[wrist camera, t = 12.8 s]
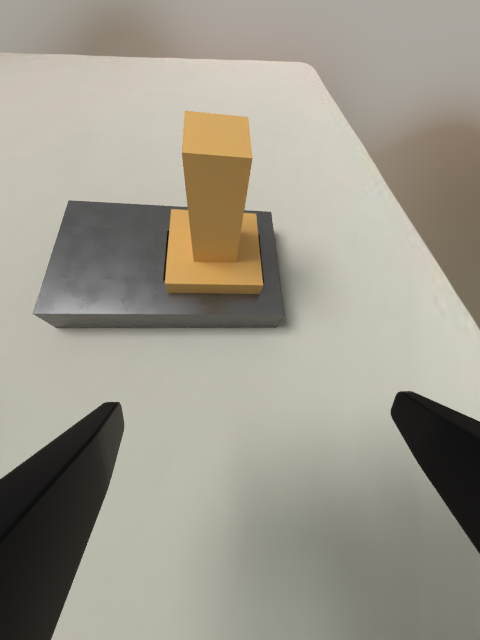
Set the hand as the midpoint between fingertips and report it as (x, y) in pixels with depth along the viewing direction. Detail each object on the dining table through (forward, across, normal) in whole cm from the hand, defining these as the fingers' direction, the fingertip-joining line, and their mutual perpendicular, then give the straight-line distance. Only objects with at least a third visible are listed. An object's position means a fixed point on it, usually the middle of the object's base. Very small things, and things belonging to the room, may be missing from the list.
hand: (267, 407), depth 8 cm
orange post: (+19, +2, -1) cm, 19 cm away
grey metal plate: (+19, +5, 0) cm, 20 cm away
